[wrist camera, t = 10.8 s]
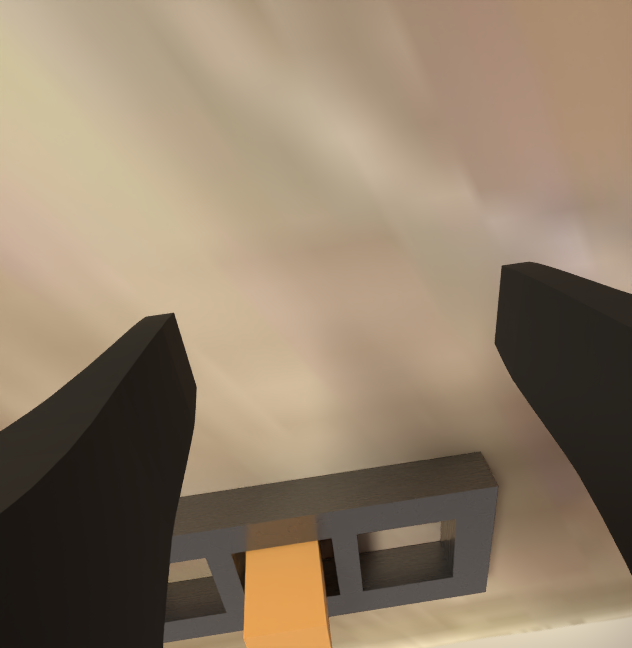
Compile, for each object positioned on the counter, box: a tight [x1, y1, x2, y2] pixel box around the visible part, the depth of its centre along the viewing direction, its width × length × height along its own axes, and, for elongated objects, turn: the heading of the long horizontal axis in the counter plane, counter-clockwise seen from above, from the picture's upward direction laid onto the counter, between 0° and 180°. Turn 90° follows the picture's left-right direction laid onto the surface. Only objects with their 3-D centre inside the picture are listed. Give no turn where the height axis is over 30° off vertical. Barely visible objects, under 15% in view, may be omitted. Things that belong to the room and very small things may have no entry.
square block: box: [243, 540, 332, 648], centre depth 28 cm, size 4×4×7 cm
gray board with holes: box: [163, 452, 498, 643], centre depth 30 cm, size 24×10×2 cm, turn 97°
